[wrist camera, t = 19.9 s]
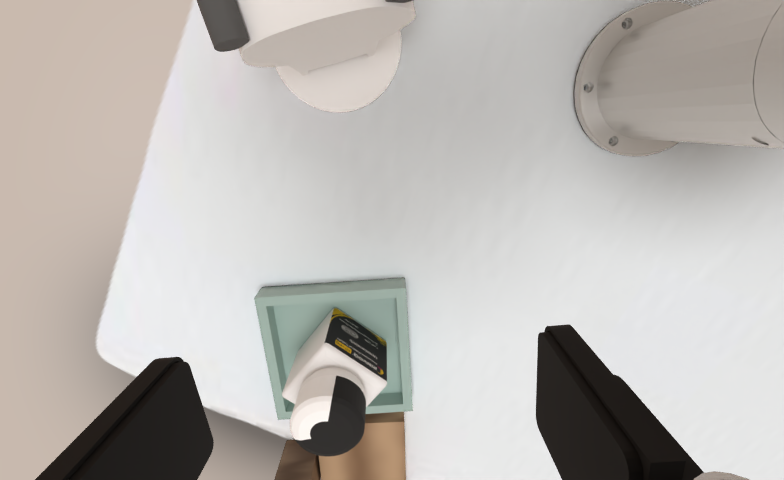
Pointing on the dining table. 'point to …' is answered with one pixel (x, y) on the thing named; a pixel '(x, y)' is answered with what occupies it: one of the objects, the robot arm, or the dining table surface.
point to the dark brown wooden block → (298, 464)
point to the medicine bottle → (335, 384)
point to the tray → (307, 311)
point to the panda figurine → (316, 44)
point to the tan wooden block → (371, 452)
